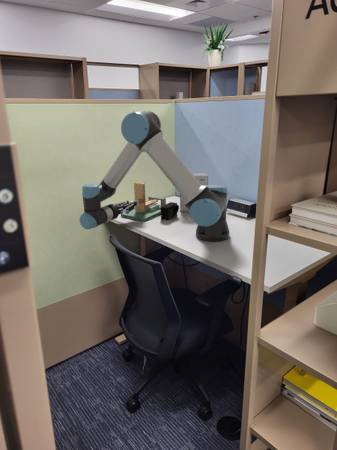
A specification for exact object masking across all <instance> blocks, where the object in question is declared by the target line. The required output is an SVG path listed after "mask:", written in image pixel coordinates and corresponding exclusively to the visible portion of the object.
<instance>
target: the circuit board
mask: <svg viewBox="0 0 337 450" xmlns="http://www.w3.org/2000/svg"><path fill="white" fill-rule="evenodd" d="M158 216H161V204H159V209H157V210H155V211H152V212H148V211H146V213H139V212H135V209H133V210H132V211H130V212H129V214H126V213H125V212H123V213H122V214H120V217H122V218H126V219H131V220H135V221H141V222H147V221H149V220H152V219H153V218H155V217H158Z"/></svg>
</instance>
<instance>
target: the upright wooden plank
mask: <svg viewBox="0 0 337 450" xmlns="http://www.w3.org/2000/svg"><path fill="white" fill-rule="evenodd" d="M133 190H134V191H133V192H134V194H133V195H134V200H136V199H139V205H137V206H135V212H139V213H146V206H148V205H151V204H153V203H158V202H159V200H156V199H154V200H153V199H152V200H150V201H146V184H145V183H143V182H136V181H135V182H133Z"/></svg>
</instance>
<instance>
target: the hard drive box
mask: <svg viewBox="0 0 337 450" xmlns="http://www.w3.org/2000/svg"><path fill="white" fill-rule="evenodd" d="M192 174H193V176H194V177H195V178H196V179H197V181H198V182H199V183H200V184H201V185H209V174H208V173H192ZM184 201H185V199H184V197H183V196H182V195H181V194H180V193H179V202H180V203H179V212H190V211H189V209H188V208H187V207H186V206H185V204H184Z"/></svg>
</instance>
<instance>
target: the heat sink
mask: <svg viewBox="0 0 337 450" xmlns="http://www.w3.org/2000/svg"><path fill="white" fill-rule="evenodd" d="M159 205H160V203H158V202H156V203H153V204H151V205H148V206H146V211H148V212H152V211H155V210H157V209H159Z"/></svg>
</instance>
